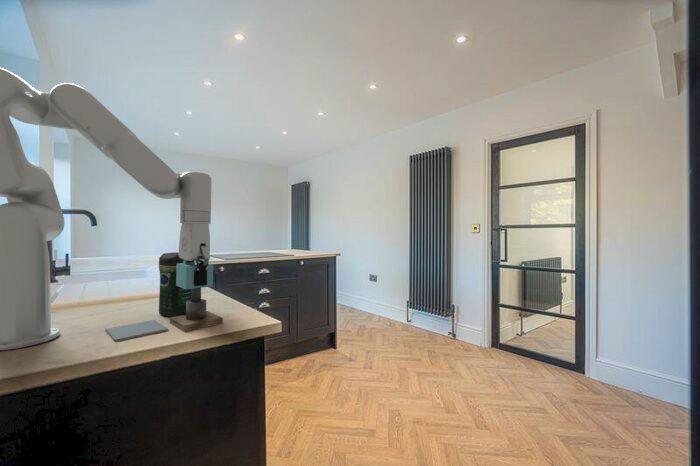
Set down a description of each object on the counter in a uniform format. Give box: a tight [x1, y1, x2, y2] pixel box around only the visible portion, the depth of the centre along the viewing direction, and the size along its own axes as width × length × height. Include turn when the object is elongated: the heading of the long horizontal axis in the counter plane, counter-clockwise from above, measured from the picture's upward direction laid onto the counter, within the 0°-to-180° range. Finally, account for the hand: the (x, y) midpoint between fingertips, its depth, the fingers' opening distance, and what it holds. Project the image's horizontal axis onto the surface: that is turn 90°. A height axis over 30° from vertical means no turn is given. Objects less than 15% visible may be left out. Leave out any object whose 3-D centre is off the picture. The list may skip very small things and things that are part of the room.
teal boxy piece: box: [176, 262, 214, 289], centre depth 87 cm, size 7×7×6 cm
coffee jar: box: [158, 251, 192, 318], centre depth 96 cm, size 10×8×19 cm
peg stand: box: [169, 288, 223, 332], centre depth 87 cm, size 10×10×12 cm
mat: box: [104, 319, 169, 343], centre depth 81 cm, size 11×11×1 cm
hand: (194, 283), depth 87 cm, fingers closed on teal boxy piece, 7 cm apart
